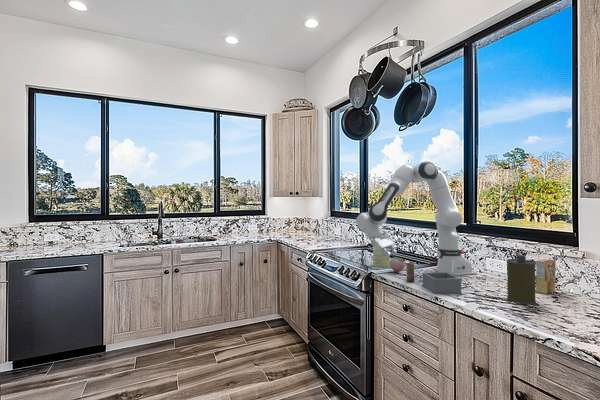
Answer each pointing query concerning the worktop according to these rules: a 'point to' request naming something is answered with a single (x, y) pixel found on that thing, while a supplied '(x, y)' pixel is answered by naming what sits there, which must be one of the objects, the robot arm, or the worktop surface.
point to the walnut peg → (410, 272)
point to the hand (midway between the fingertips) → (392, 254)
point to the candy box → (545, 276)
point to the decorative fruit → (397, 264)
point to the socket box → (442, 283)
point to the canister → (521, 280)
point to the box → (380, 259)
